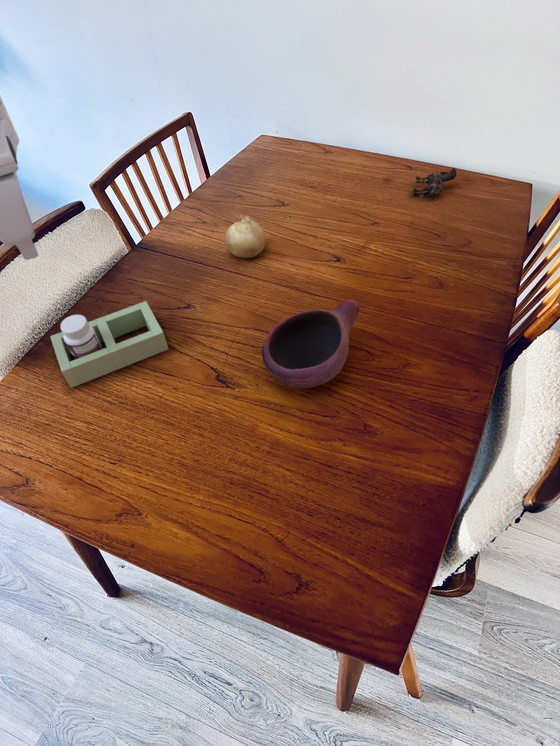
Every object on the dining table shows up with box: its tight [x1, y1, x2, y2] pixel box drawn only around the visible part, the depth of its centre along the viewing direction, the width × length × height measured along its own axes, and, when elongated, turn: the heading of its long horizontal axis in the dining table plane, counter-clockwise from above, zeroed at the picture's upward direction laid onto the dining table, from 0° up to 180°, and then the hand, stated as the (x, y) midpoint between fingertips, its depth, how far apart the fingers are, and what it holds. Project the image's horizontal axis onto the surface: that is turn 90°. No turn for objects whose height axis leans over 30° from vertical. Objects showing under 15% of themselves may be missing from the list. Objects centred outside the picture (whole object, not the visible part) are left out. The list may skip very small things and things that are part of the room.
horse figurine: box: [386, 167, 457, 198], centre depth 113 cm, size 9×4×15 cm
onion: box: [224, 214, 267, 259], centre depth 101 cm, size 8×8×7 cm
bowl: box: [261, 298, 360, 389], centre depth 80 cm, size 16×13×8 cm
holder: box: [50, 300, 169, 389], centre depth 86 cm, size 16×9×4 cm, turn 118°
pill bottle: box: [60, 314, 104, 360], centre depth 83 cm, size 5×5×8 cm
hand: (25, 237), depth 70 cm, fingers open, 8 cm apart
